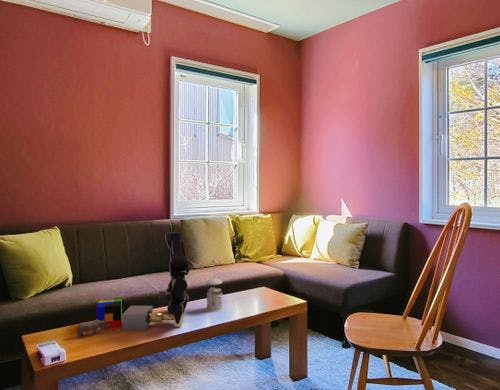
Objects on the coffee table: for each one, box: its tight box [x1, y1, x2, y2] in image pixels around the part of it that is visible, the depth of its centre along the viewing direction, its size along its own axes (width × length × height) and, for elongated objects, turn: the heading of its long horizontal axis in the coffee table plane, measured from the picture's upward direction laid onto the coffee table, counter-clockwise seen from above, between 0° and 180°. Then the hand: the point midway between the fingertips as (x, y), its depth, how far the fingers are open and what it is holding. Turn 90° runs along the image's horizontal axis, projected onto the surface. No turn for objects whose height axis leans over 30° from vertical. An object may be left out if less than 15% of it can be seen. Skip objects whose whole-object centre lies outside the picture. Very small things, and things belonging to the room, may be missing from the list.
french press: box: [204, 259, 225, 313], centre depth 198 cm, size 10×12×25 cm
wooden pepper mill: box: [148, 312, 184, 328], centre depth 176 cm, size 6×17×6 cm, turn 89°
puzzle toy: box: [96, 298, 123, 331], centre depth 177 cm, size 10×10×10 cm
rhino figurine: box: [76, 319, 110, 339], centre depth 166 cm, size 4×14×6 cm, turn 125°
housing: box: [121, 305, 154, 331], centre depth 176 cm, size 12×10×7 cm
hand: (178, 321), depth 176 cm, fingers closed on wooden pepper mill, 6 cm apart
